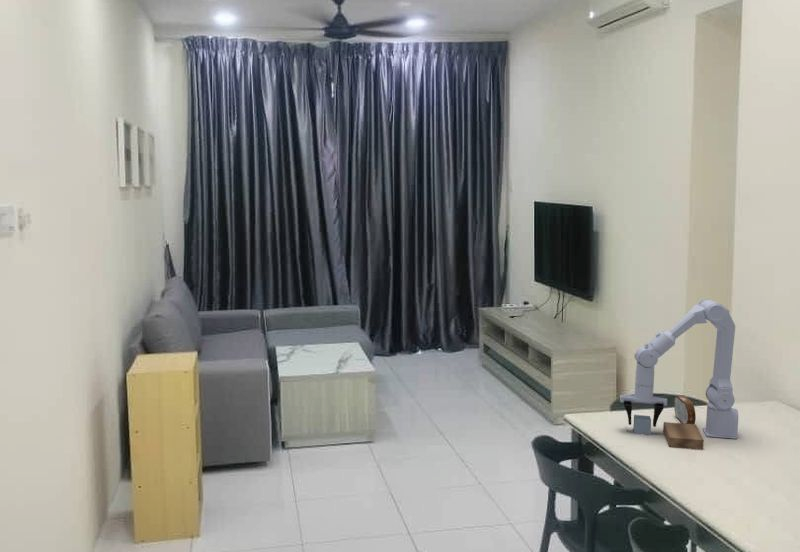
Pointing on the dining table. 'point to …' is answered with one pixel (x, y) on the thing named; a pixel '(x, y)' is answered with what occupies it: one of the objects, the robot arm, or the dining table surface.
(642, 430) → the block
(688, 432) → the plinth
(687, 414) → the tin
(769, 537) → the dining table surface
